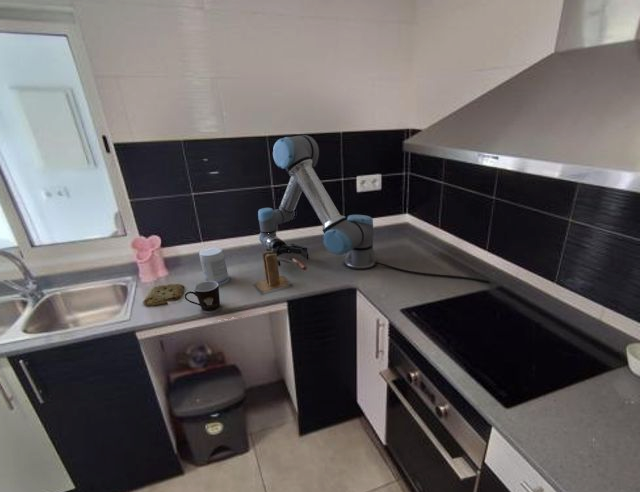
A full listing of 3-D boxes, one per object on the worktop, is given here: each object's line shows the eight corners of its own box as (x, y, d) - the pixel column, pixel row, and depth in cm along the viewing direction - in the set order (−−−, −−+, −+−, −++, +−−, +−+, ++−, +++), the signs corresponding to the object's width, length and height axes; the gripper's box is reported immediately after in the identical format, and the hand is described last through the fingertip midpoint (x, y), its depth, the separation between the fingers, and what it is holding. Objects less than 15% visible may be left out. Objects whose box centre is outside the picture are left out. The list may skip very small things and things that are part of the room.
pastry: (172, 283, 165) (170, 277, 163) (197, 294, 156) (195, 287, 154) (133, 299, 152) (130, 293, 151) (157, 312, 143) (155, 305, 142)
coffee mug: (226, 304, 148) (222, 281, 143) (217, 315, 141) (212, 292, 136) (198, 303, 149) (192, 280, 144) (187, 314, 142) (181, 290, 137)
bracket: (283, 278, 169) (279, 246, 162) (292, 286, 161) (288, 254, 154) (254, 285, 163) (249, 252, 156) (262, 294, 155) (257, 260, 148)
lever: (295, 262, 169) (296, 257, 169) (305, 271, 161) (307, 266, 160) (261, 255, 159) (262, 250, 159) (270, 264, 151) (272, 258, 150)
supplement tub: (231, 277, 169) (225, 246, 162) (226, 287, 161) (219, 255, 154) (209, 278, 169) (203, 247, 162) (203, 288, 161) (195, 255, 154)
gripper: (300, 247, 192) (319, 261, 176) (252, 258, 181) (268, 274, 165) (299, 233, 188) (318, 246, 173) (250, 243, 177) (266, 258, 161)
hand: (294, 259), depth 169 cm, fingers open, 13 cm apart
